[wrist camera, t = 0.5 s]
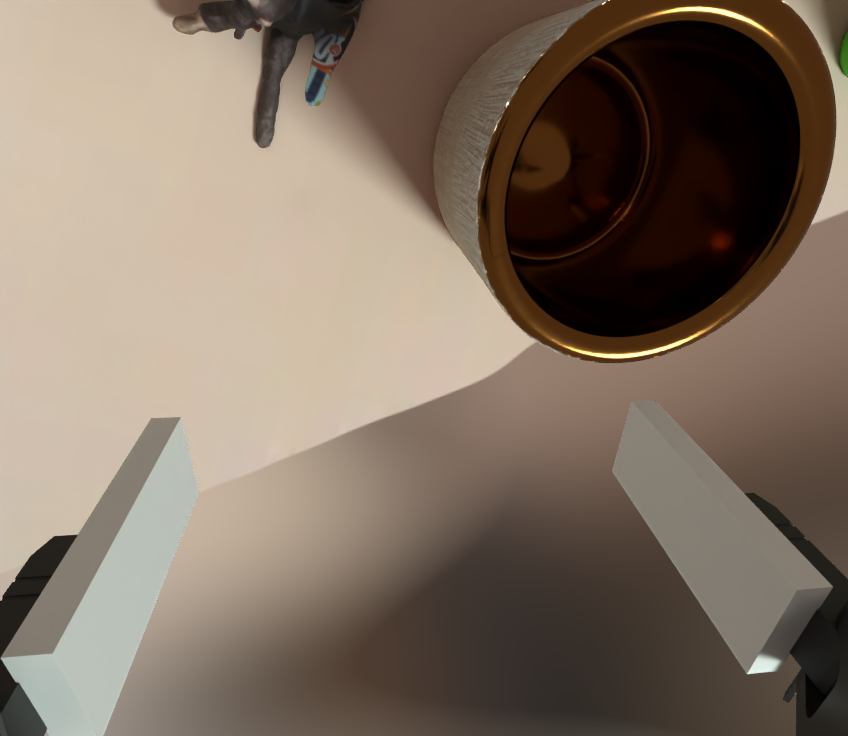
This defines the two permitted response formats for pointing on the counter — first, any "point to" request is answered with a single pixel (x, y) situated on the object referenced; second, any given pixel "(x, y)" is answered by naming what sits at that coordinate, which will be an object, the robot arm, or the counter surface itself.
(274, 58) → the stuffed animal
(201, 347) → the counter surface
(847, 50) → the cup
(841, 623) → the robot arm
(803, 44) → the planter
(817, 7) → the counter surface
